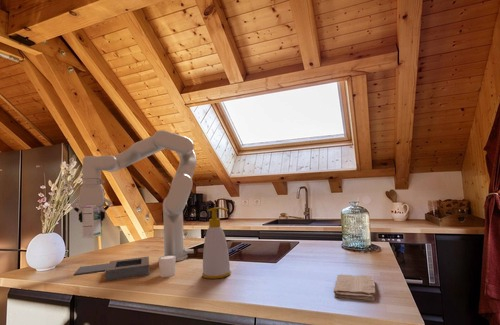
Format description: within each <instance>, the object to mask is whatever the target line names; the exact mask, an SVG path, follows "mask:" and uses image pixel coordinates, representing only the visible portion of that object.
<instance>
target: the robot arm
mask: <svg viewBox="0 0 500 325" xmlns="http://www.w3.org/2000/svg"><path fill="white" fill-rule="evenodd" d="M194 148H195V144H194V142H193V140H192V139H191V138H189V137H187V136H184V135H180V134H177V133H175V132H171V131H168V130H162V129H160V130H157V131H155V133H154V134H153V135H151V136H149V137H146V138H143V139H142V140H139V141H137V142H135V143H133V144H131V145H130V147H128V148H126V149H125V150H123V151H122V152H120V153H117V154H116V155H111V154H108V155H107V154H106V155H99V156H97V155H86V156H84V157H82V185H80V190H79V196H78V199H77V200H76V201H75V202H73V203H72V204H71V205H70V206H71V207H72V209H73V210H74V211H75V213H78V221H79V223H82V210H83V208H85V207H86V206H87V205H96V207H100V209H101V210H102V212H101V221H102V222H103V221H104V220H105V219H106V212H107V210H108V209H109V208H110V207H111V205H112V204H113V202H112V201H110V200H109V199H107V198H106V197H105V188H104V185H102V184H105V179H102V171H105V172H108V173H114V172H117V171H120V170H122V169H124V168H127V167H129V166H131V165H132V164H135V163H137V162H140V161H141V160H144V159H145V158H148V157H150V156H152V155H154V154H155V155H156V153H159V152H161V151H163V150H165V149H166V150H169V151H172V152H175V153H176V155H177V156H178V157H179V164H178V167H177V170H176V172H175V174H174V177H173V178H172V180H171V186H170V188H169V191H168V193H167V196H166V197H165V198H164V200H163V201H162V213H163V253H164V256H176V262H180V261H184V260H186V259H188V254H194V253H195V251H194V249H193V248H189V249H187V248H185V239H184V237H185V234H184V209H185V207H186V205H187V202H188V200H189V197H190V195H191V192H192V189H193V184H194V181H193V177H194V173H195V170H196V167H197V155H196V153H195V151H194ZM105 203H107V205H106V206H105ZM77 205H78V206H79V207H77ZM104 206H105V207H104Z"/></svg>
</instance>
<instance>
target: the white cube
mask: <svg viewBox="0 0 500 325" xmlns="http://www.w3.org/2000/svg"><path fill="white" fill-rule="evenodd" d="M157 259H158V267H159V276H160V277H161V278H170V277H173V276H175V274H176V262H177V261H176V256H160V257H158V258H157Z"/></svg>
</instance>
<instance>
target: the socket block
mask: <svg viewBox="0 0 500 325" xmlns="http://www.w3.org/2000/svg"><path fill="white" fill-rule="evenodd" d="M104 272H105V282H109V281H117V280H122V279H130V278H137V277H144V276H149V275H150V257H149V256H140V257H134V258H133V257H132V258H127V259H124V258H123V259H119V260H118V259H117V260H111V261H109V265H108V267H107V269H106V271H104Z"/></svg>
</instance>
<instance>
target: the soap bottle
mask: <svg viewBox="0 0 500 325" xmlns="http://www.w3.org/2000/svg"><path fill="white" fill-rule="evenodd" d="M218 210H223V211H224V212H228V211H229V209H228V208H226V207H221V206H218V207H211V208H209V209H207V210H206V212H211V218H210V219H209V220H208V222H209V224H208V225H209V226H208V228H207V230H206V233H205V236H204V237H205V238H204V242H203V243H204V244H203V250H202V251H203V252H202V254H203V255H202V273H201V276H202V277H203V278H205V279H210V280H218V279H223V278H226V277H229V276H230V275H231V273H232V271H231V270H230V267H231V266H230V265H231V264H230V256H229V248H228V243H227V239H226V238H227V237H226V234H225V232H224V230H223V228H222V226H221V218H218V214H217V213H218V212H217V211H218Z"/></svg>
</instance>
